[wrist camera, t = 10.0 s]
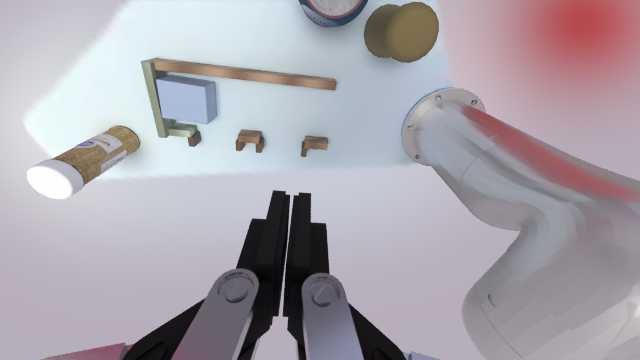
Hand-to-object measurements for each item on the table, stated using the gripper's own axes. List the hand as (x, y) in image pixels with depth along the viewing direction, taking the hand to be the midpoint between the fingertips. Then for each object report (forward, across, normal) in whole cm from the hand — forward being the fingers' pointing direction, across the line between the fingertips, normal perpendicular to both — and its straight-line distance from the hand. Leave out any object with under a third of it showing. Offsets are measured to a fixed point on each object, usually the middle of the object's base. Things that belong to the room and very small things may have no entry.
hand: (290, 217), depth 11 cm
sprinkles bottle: (+29, +28, +11) cm, 42 cm away
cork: (+29, -10, -8) cm, 32 cm away
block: (+29, +16, +3) cm, 34 cm away
